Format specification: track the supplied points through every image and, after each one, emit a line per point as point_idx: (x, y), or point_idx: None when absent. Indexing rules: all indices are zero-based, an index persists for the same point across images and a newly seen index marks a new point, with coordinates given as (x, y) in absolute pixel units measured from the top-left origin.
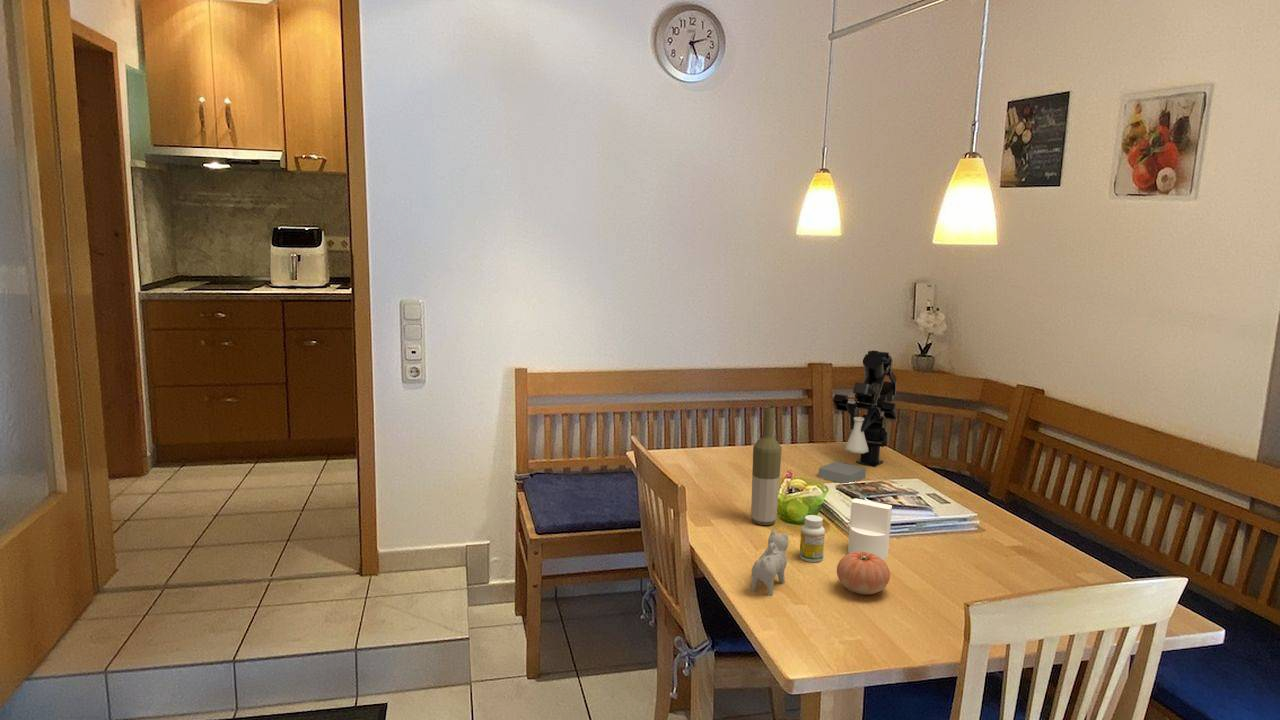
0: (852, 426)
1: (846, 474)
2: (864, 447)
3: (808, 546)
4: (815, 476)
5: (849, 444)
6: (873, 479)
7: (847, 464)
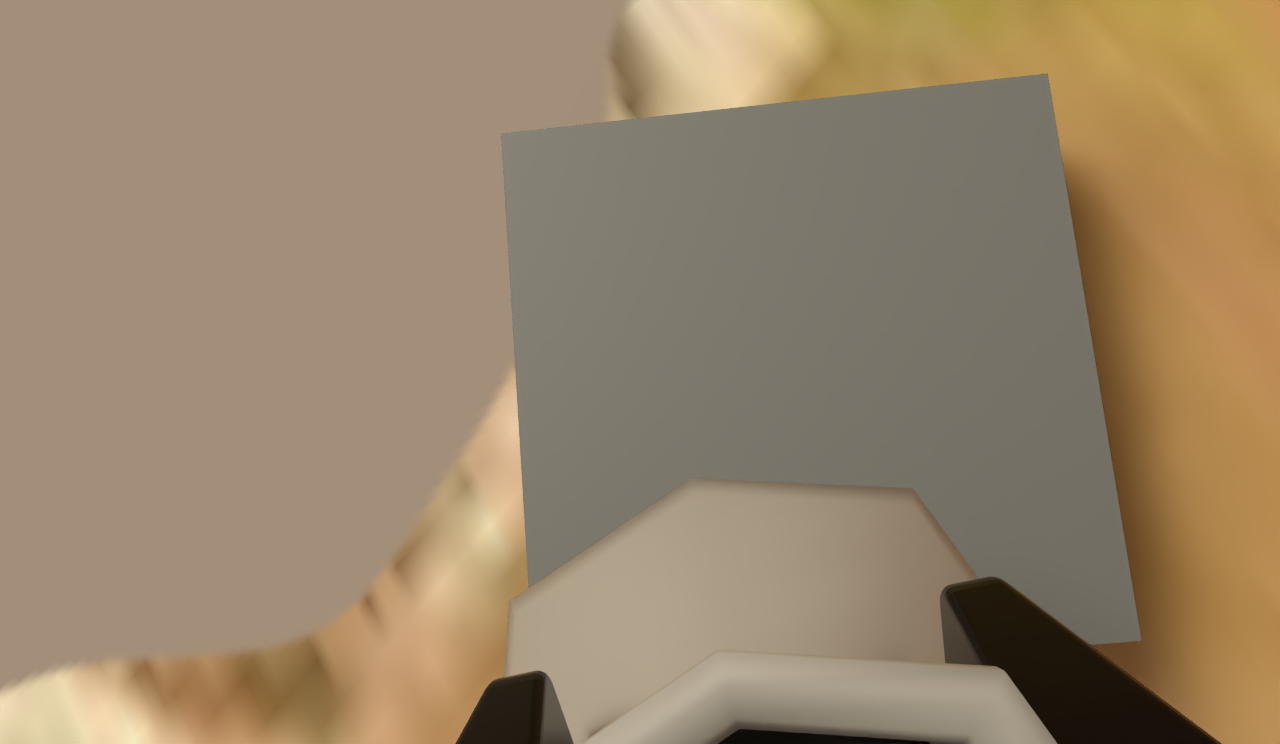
0: (966, 659)
1: (568, 140)
2: None
3: None
4: (1076, 159)
5: (851, 523)
6: (440, 715)
7: None
